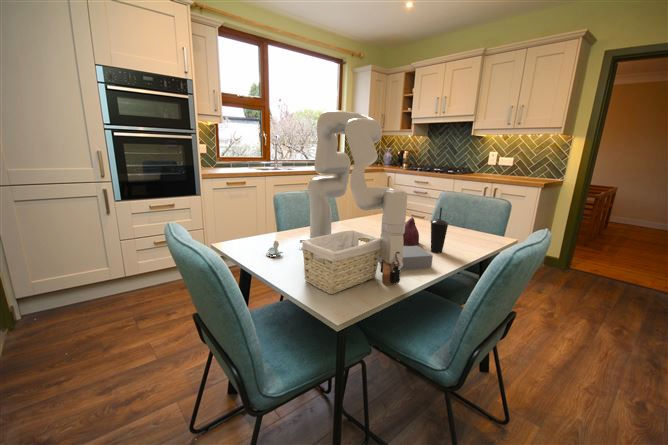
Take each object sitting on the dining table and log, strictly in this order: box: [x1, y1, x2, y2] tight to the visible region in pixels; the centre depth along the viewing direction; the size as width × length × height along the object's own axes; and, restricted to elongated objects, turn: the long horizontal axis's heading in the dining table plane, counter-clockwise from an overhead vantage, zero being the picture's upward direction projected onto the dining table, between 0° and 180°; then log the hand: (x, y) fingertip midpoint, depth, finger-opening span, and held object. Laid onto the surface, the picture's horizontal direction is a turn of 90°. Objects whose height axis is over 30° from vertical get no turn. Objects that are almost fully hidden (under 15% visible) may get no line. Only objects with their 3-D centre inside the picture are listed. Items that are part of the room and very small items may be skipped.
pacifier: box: [265, 240, 284, 258], centre depth 127 cm, size 7×6×6 cm
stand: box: [378, 245, 433, 271], centre depth 122 cm, size 18×12×5 cm, turn 102°
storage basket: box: [301, 230, 381, 295], centre depth 105 cm, size 24×16×15 cm
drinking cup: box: [430, 207, 450, 254], centre depth 135 cm, size 8×8×20 cm
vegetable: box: [403, 216, 420, 246], centre depth 146 cm, size 10×10×15 cm
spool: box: [381, 261, 397, 286], centre depth 105 cm, size 5×5×7 cm
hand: (389, 277), depth 105 cm, fingers open, 7 cm apart
